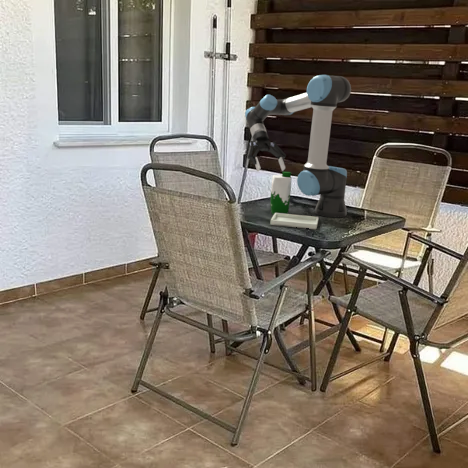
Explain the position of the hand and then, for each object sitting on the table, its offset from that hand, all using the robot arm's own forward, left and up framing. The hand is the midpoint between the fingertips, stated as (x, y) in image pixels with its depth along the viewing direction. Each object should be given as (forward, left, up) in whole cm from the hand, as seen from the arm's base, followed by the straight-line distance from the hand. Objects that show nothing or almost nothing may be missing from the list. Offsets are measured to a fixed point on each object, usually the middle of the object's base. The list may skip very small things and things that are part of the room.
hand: (271, 169), depth 295 cm
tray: (-15, +25, -19) cm, 36 cm away
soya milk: (-6, +8, -20) cm, 22 cm away
